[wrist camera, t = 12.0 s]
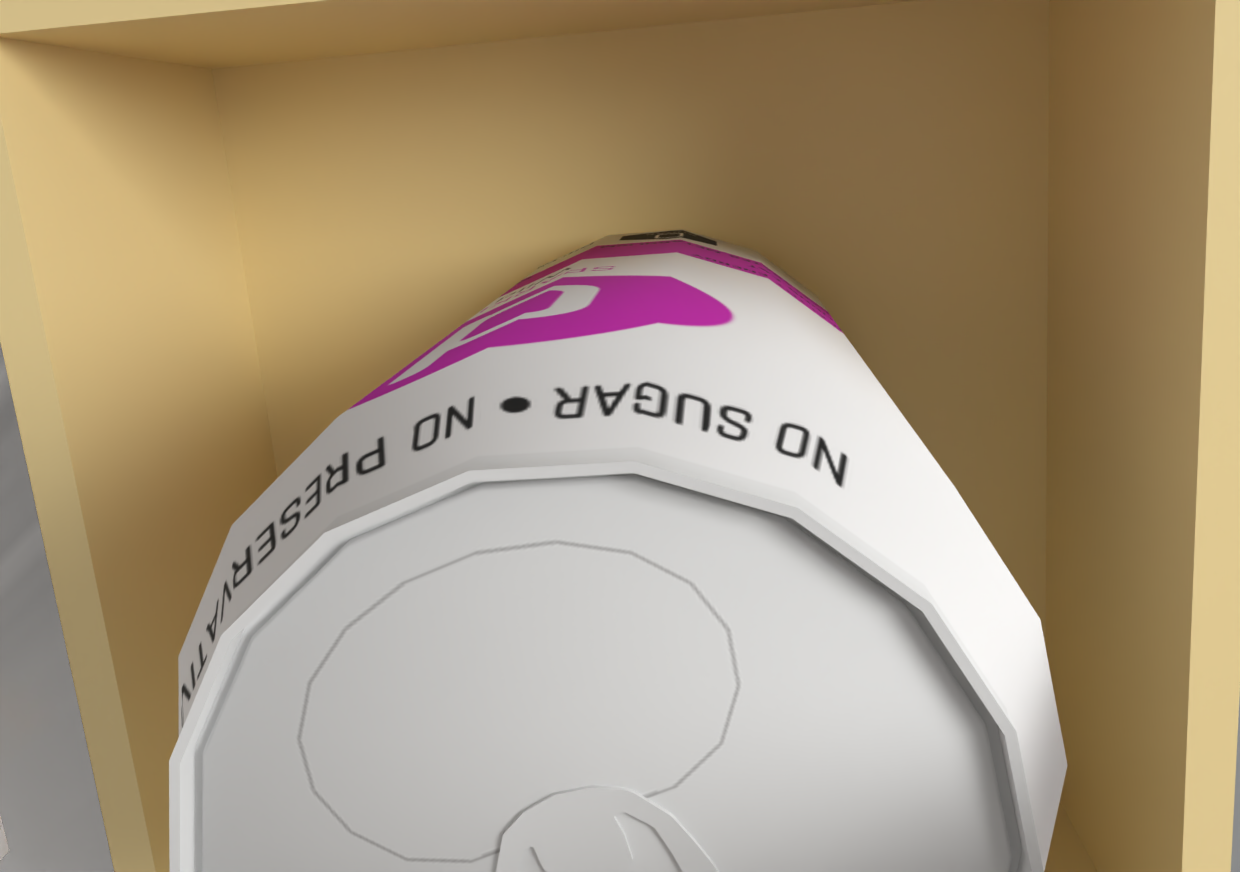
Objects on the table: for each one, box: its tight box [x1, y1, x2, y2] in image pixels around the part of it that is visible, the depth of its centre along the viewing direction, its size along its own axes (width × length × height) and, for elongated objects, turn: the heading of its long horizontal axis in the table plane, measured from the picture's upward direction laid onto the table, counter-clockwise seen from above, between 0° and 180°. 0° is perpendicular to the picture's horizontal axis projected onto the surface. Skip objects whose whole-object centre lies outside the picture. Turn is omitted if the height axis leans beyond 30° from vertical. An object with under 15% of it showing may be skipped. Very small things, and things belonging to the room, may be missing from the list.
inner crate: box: [0, 0, 1240, 872], centre depth 21 cm, size 17×17×8 cm
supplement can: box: [169, 230, 1067, 872], centre depth 16 cm, size 8×8×15 cm
